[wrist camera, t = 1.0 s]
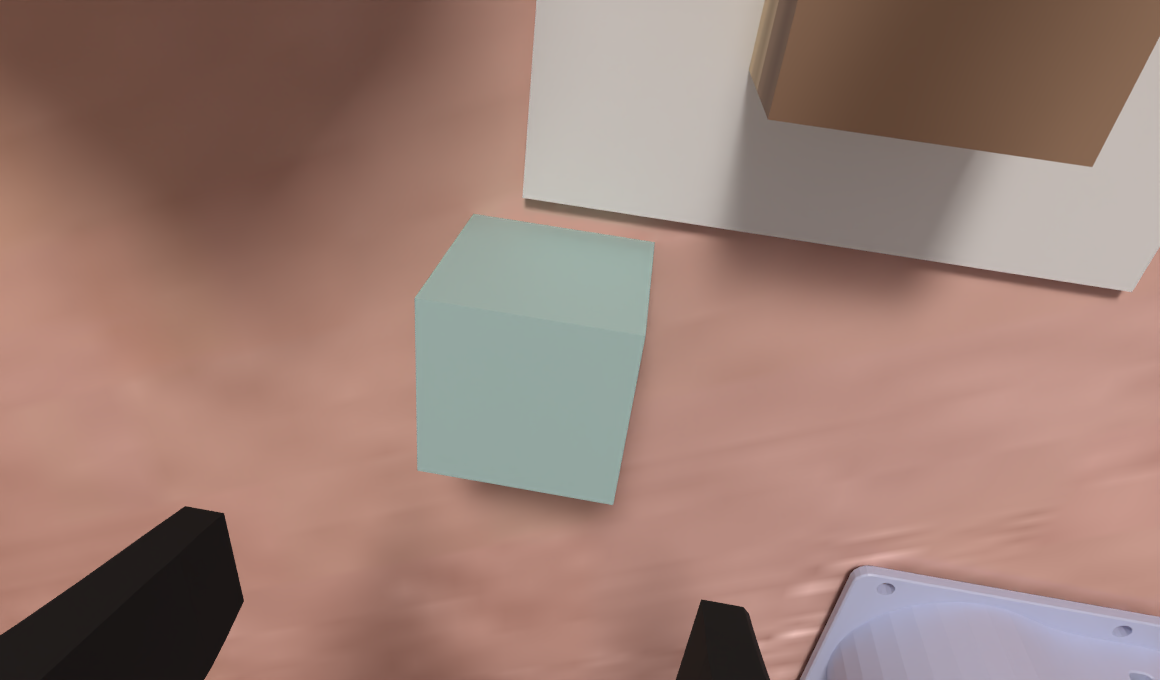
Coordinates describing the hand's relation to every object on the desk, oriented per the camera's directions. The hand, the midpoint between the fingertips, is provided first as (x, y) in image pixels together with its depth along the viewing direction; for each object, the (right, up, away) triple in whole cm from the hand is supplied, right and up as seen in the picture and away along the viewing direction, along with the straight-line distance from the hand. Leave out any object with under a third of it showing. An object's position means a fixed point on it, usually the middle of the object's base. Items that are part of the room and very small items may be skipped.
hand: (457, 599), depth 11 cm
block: (+1, +5, +8) cm, 9 cm away
